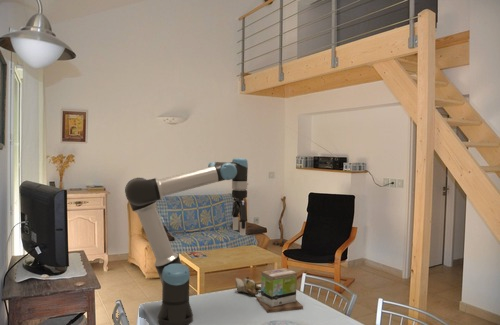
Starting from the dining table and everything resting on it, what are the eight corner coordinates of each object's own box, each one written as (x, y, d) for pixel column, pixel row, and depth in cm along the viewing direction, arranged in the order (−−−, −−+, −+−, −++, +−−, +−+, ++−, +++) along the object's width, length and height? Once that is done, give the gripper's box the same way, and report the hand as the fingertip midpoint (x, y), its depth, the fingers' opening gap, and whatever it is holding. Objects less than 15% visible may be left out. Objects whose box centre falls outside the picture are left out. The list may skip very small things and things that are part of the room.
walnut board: (267, 312, 186) (267, 309, 186) (256, 299, 203) (256, 296, 203) (303, 309, 192) (303, 306, 192) (289, 296, 208) (289, 293, 208)
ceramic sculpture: (239, 272, 220) (265, 277, 215) (238, 287, 221) (264, 292, 215) (231, 277, 210) (258, 283, 205) (230, 294, 211) (257, 299, 205)
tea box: (272, 308, 188) (273, 276, 188) (259, 301, 197) (260, 271, 196) (296, 301, 197) (297, 271, 197) (283, 295, 205) (284, 266, 205)
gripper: (254, 191, 187) (253, 237, 187) (240, 187, 211) (239, 227, 211) (238, 192, 185) (238, 238, 185) (226, 187, 209) (225, 228, 209)
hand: (238, 232), depth 198 cm, fingers open, 13 cm apart
